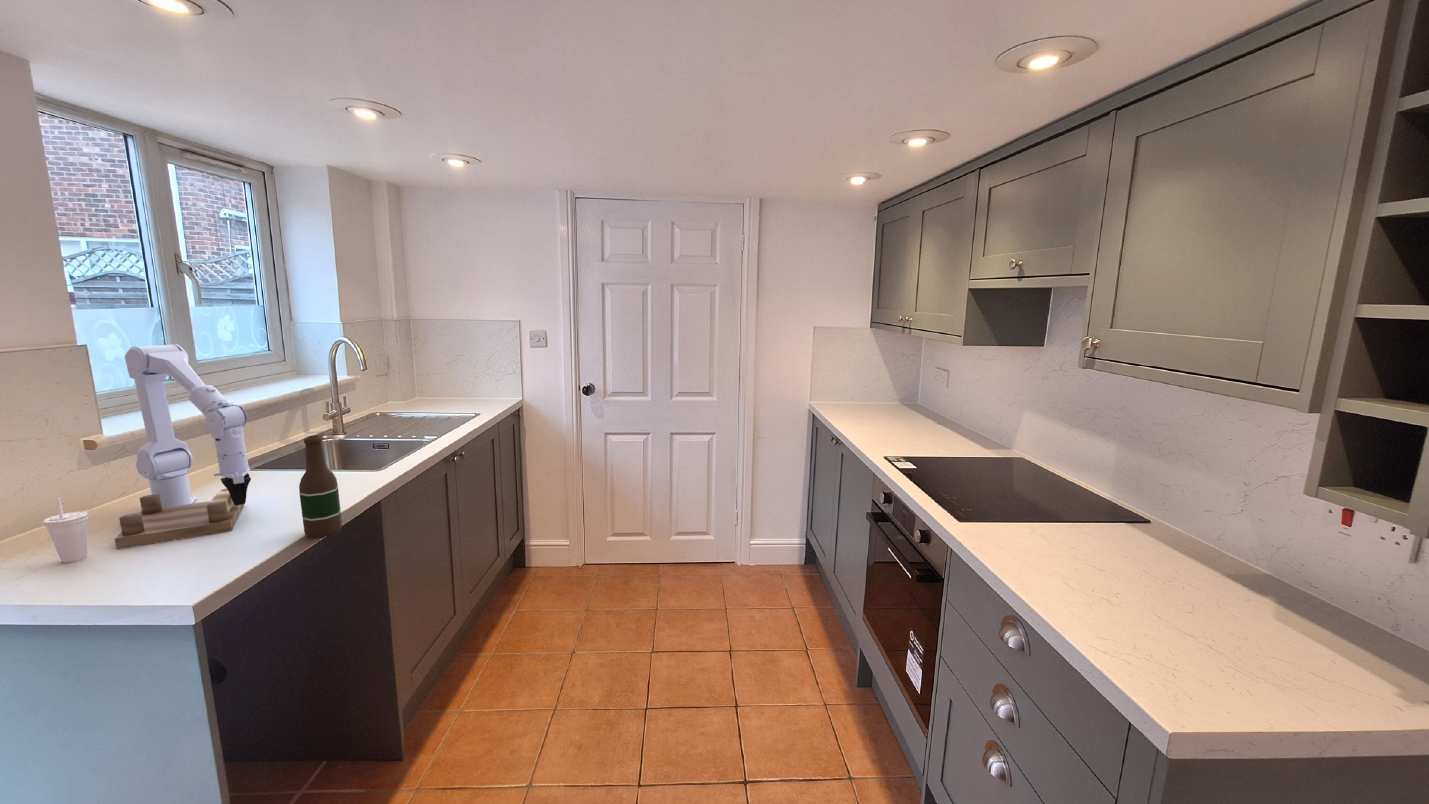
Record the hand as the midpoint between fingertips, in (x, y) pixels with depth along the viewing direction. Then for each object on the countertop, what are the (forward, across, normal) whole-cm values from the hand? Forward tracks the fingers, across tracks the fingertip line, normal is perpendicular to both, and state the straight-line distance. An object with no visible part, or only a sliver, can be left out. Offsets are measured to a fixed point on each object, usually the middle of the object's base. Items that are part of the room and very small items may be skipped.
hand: (239, 503), depth 145 cm
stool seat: (+3, -2, -10) cm, 11 cm away
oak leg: (+1, -3, -3) cm, 4 cm away
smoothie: (+3, +6, -29) cm, 30 cm away
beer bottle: (+4, +26, +13) cm, 29 cm away
